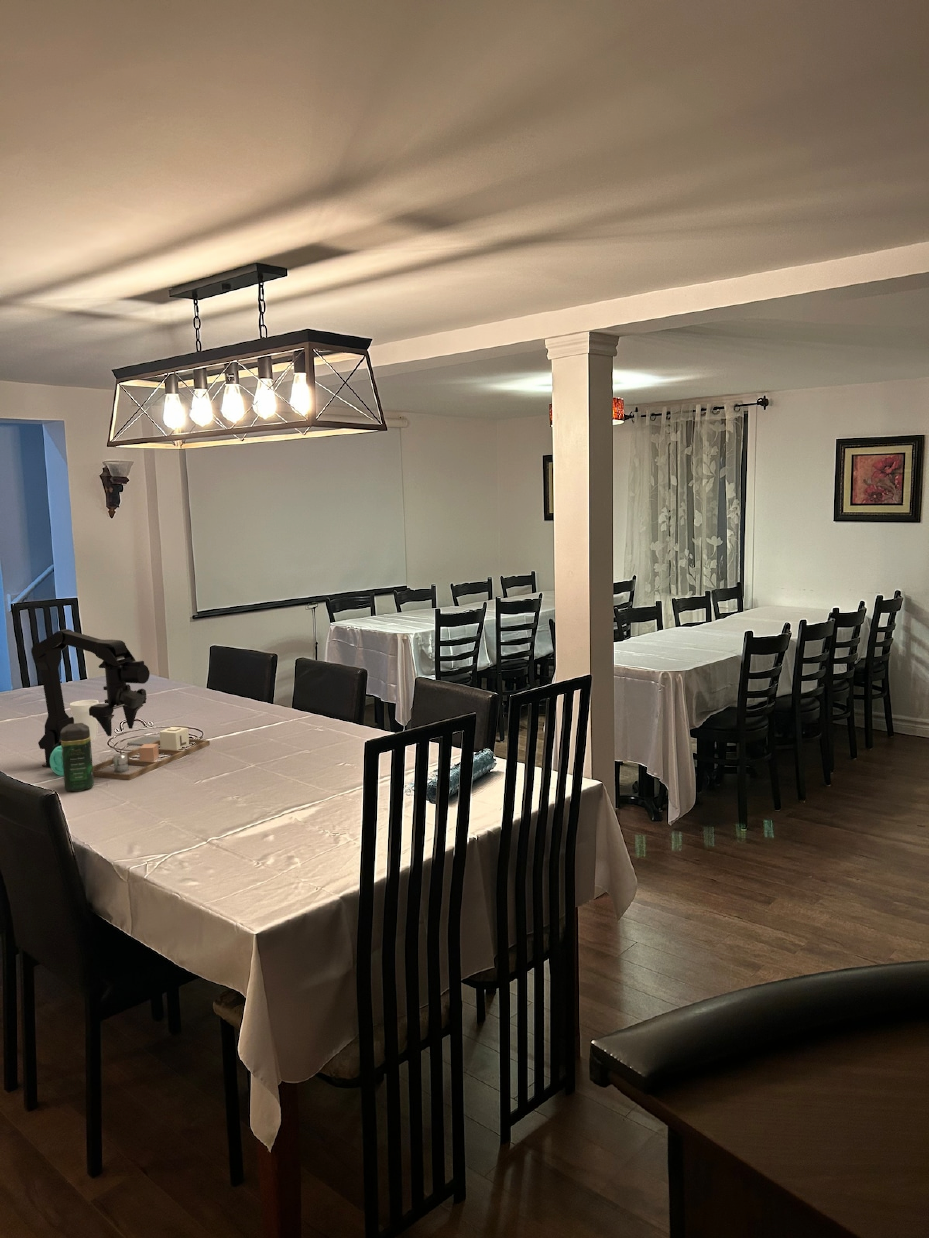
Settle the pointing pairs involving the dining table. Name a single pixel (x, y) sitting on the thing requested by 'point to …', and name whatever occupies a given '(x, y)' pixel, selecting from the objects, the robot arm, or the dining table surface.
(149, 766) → the walnut rack
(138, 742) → the slate pad
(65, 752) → the coffee jar
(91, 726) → the foam cup
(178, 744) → the letter cube
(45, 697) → the robot arm
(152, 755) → the terracotta block
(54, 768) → the teal round container
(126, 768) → the grey metal canister
